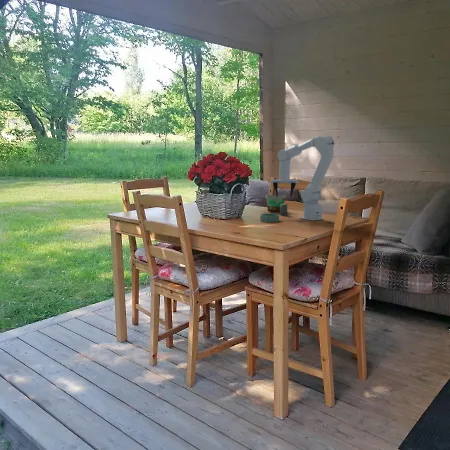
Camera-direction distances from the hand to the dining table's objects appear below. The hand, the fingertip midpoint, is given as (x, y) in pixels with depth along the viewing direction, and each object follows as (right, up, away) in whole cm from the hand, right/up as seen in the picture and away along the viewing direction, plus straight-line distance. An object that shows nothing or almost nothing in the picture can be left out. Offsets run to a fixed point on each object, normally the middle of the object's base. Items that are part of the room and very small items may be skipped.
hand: (283, 196), depth 258 cm
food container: (-4, -8, +14) cm, 17 cm away
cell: (0, -10, +2) cm, 11 cm away
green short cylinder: (-9, -13, -14) cm, 21 cm away
